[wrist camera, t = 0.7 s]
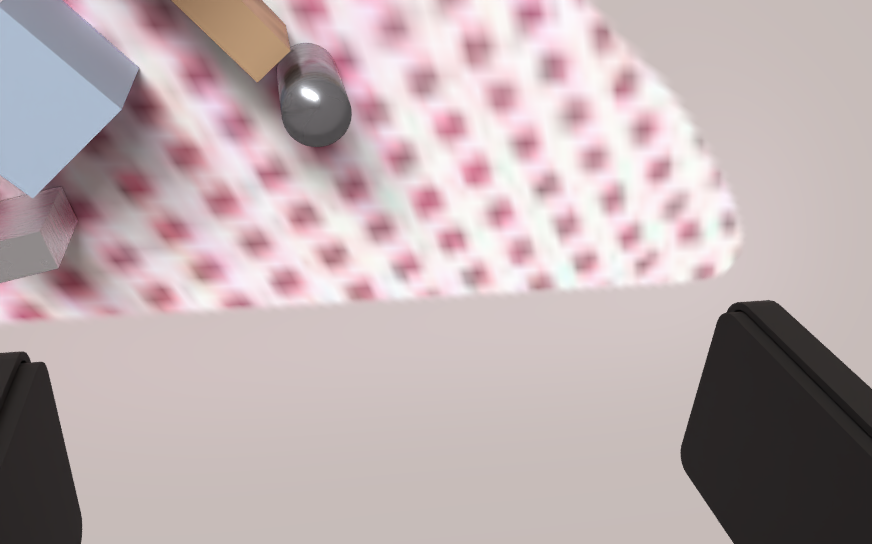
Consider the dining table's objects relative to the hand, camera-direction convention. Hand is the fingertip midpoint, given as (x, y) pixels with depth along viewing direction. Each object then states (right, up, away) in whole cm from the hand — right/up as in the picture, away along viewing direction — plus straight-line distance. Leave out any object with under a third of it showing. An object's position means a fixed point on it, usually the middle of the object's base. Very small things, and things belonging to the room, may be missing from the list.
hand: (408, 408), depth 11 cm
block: (-14, +10, +18) cm, 25 cm away
